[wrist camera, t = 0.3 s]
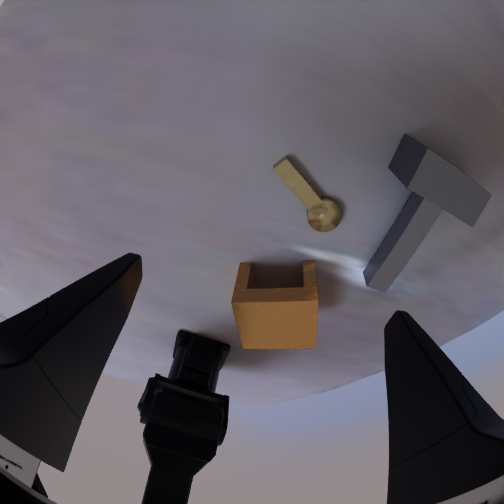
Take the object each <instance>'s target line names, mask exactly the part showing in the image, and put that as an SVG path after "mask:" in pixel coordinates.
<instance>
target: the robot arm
mask: <svg viewBox="0 0 504 504" xmlns="http://www.w3.org/2000/svg"><path fill="white" fill-rule="evenodd" d="M141 280H142V258H141V256H140V255H138V254H134V253H128V254H126V255H124V256H122V257H120V258H118V259H116V260H114V261H112V262H110V263H108V264H107V265H105V266H103V267H101V268H99V269H97V270H95V271H94V272H92V273H90V274H88V275H86V276H84V277H83V278H81V279H79V280H77V281H75V282H74V283H72V284H70V285H68V286H67V287H65V288H63V289H61V290H60V291H58V292H56V293H54V294H53V295H51V296H50V297H47V298H46V299H44V300H42V301H41V302H39V303H37V304H35V305H33V306H32V307H30V308H28V309H26V310H24V311H22V312H20V313H19V314H17V315H15V316H13V317H11V318H9V319H7V320H5V321H3V322H1V323H0V504H57V503H55V502H53V501H51V500H50V499H48V496H47V494H46V491H45V489H44V487H43V485H42V483H41V481H40V478H39V476H38V474H37V470H38V467H39V465H40V462H41V461H43V462H45V463H46V464H48V465H51V466H52V467H54V468H56V469H58V470H60V471H62V472H64V470H65V467H66V465H67V462H68V459H69V455H70V453H71V450H72V447H73V444H74V441H75V438H76V436H77V433H78V430H79V427H80V425H81V421H82V419H83V417H84V414H85V411H86V409H87V406H88V404H89V402H90V399H91V397H92V394H93V392H94V389H95V387H96V384H97V382H98V380H99V378H100V376H101V373H102V371H103V369H104V366H105V364H106V362H107V360H108V358H109V355H110V353H111V351H112V349H113V347H114V345H115V343H116V340H117V338H118V336H119V334H120V332H121V330H122V328H123V326H124V324H125V322H126V320H127V317H128V315H129V312H130V310H131V307H132V304H133V301H134V299H135V296H136V293H137V291H138V288H139V285H140V283H141ZM384 342H385V374H386V386H387V400H388V420H389V475H388V495H387V504H504V420H503V419H502V418H501V417H500V416H499V415H498V414H497V413H496V412H495V411H494V410H493V409H492V408H491V407H490V405H489V404H488V403H487V402H486V401H485V400H484V399H483V398H482V397H481V395H480V394H479V393H478V392H477V391H476V390H475V389H474V387H473V386H472V385H471V384H470V383H469V382H468V380H467V379H466V378H465V377H464V376H463V375H462V373H461V372H460V371H459V370H458V368H457V367H456V366H455V365H454V364H453V363H452V361H451V360H450V359H449V358H448V357H447V356H446V355H445V353H444V352H443V351H442V350H441V349H440V348H439V346H438V345H437V344H436V343H435V342H434V341H433V340H432V339H431V338H430V336H429V335H428V334H427V333H426V332H425V331H424V330H423V329H422V328H421V327H420V325H419V324H418V323H417V322H416V321H415V320H414V319H413V318H412V317H411V316H410V315H409V314H408V313H407V312H405V311H400V310H398V311H396V312H395V313H394V314H393V315H392V317H391V318H390V320H389V321H388V323H387V324H386V326H385V329H384ZM229 351H230V346H229V345H227V344H224V343H220V342H217V341H213V340H210V339H207V338H204V337H200V336H197V335H194V334H191V333H188V332H185V331H181V330H180V331H178V333H177V337H176V342H175V347H174V353H173V358H174V360H173V363H172V366H171V369H170V372H169V375H168V378H166V377H163V376H160V374H157V373H156V375H155V377H152V378H149V380H148V383H147V386H146V388H145V391H144V393H143V395H142V397H141V399H140V401H139V404H138V410H139V411H140V416H141V419H140V423H143V424H146V425H145V428H144V432H143V443H144V446H145V449H146V452H147V456H148V459H149V461H150V465H151V468H150V472H149V476H148V480H147V484H146V488H145V492H144V496H143V500H142V504H187V503H188V498H189V494H190V489H191V484H192V480H193V476H194V475H195V474H196V473H197V472H199V471H200V470H201V469H202V468H203V467H204V466H205V465H206V464H207V463H208V462H210V461H211V460H212V459H213V457H214V456H215V455H216V450H217V446H220V445H221V444H222V442H223V440H224V437H225V434H226V430H227V424H228V409H229V396H227V395H220V394H217V393H215V390H216V385H217V380H218V375H219V371H220V369H221V367H222V365H223V363H224V361H225V359H226V357H227V355H228V353H229Z"/></svg>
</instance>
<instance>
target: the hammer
mask: <svg viewBox="0 0 504 504" xmlns="http://www.w3.org/2000/svg"><path fill="white" fill-rule="evenodd" d="M388 168H389V169H390V170H391V171H392V172H393V174H394V175H395V176H396V177H397V178H398V179H399V180H400V181H401V182H402V183H403V184H404V186H405V187H406V188H407V189H409V190H411V191H413V192H412V194H411V196H410V198H409V200H408V201H407V203H406V205H405V206H404V208H403V210H402V212H401V213H400V215H399V217H398V218H397V220H396V222H395V223H394V225H393V227H392V228H391V230H390V231H389V233H388V235H387V236H386V238H385V239H384V241H383V243H382V244H381V246H380V247H379V249H378V250H377V252H376V253H375V255H374V256H373V258H372V260H371V261H370V263H369V264H368V266H367V267H366V268H365V270H364V271H363V275H364V278H365V282H366V285H367V286H368V287H371V288H374V289H377V290H380V291H383V292H386V291H387V289H388V288H389V287H390V285H391V284H392V283H393V281H394V280H395V279H396V277H397V276H398V275H399V273H400V272H401V271H402V269H403V268H404V266H405V265H406V264H407V262H408V261H409V259H410V258H411V257H412V255H413V254H414V252H415V251H416V249H417V248H418V246H419V245H420V243H421V242H422V240H423V239H424V237H425V236H426V234H427V233H428V231H429V230H430V228H431V227H432V225H433V223H434V222H435V220H436V219H437V217H438V215H439V214H440V212H441V210H442V209H444V210H446V211H447V212H449V213H451V214H452V215H454V216H456V217H457V218H459V219H460V220H462V221H463V222H465V223H466V224H468V225H470V226H471V227H473V226H474V224H475V222H476V221H477V219H478V218H479V216H480V214H481V213H482V211H483V209H484V207H485V206H486V204H487V202H488V201H489V199H490V197H491V194H490V193H489V192H488V191H486V190H485V189H484V188H483V187H482V186H480V185H479V184H478V183H477V182H475V181H474V180H473V179H472V178H470V177H469V176H468V175H466V174H465V173H464V172H462V171H461V170H460V169H458V168H457V167H455V166H454V165H453V164H451V163H450V162H448V161H447V160H445V159H444V158H443V157H441V156H440V155H438V154H437V153H435V152H434V151H432V150H430V149H429V148H427V147H426V146H424V145H423V144H421V143H419V142H418V141H416V140H414V139H413V138H411V137H409V136H408V135H406V134H404V136H403V138H402V140H401V142H400V144H399V146H398V148H397V150H396V152H395V154H394V156H393V158H392V160H391V162H390V164H389V166H388Z"/></svg>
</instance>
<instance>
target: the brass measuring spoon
mask: <svg viewBox="0 0 504 504" xmlns="http://www.w3.org/2000/svg"><path fill="white" fill-rule="evenodd" d="M273 170H274V171H275V172H276V173H277V174H278V175H279V176H280V177H281V178H282V180H283V181H284V182H285V183H286V184H287V185H288V186H289V188H290V189H291V190H292V191H293V192H294V193H295V194H296V196H297V197H298V198H299V199H300V200H301V201H302V203H303V204H304V205H305V206H306V207H307V218H308V222H309V224H310V226H311V227H312V228H313V229H315V230H317V231H320V232H328V231H331V230H333V229H335V228H336V227H337V226H338V225H339V223H340V221H341V211H340V208H339V205H338V204H337V202H336V201H335V200H334V199H332V198H330V197H326V196H322V197H321V196H320V195H319V194H318V192H317V191H316V190H315V189H314V187H313V186H312V185H311V184H310V183H309V181H308V180H307V179H306V178H305V177H304V175H303V174H302V173H301V172H300V171H299V169H298V168H297V167H296V166H295V165H294V164H293V162H292V161H291V160H290V159H289V158H288V157H287V155H286V156H285V157H284V158H282V159H281V160H280V161H278V162H277V163H276V164H275V165H274V166H273Z"/></svg>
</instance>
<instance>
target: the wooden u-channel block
mask: <svg viewBox="0 0 504 504" xmlns="http://www.w3.org/2000/svg"><path fill="white" fill-rule="evenodd" d="M231 304H232V308H233V312H234V316H235V320H236V324H237V328H238V332H239V336H240V340H241V344H242V347H243V349H302V348H316V336H317V319H318V291H317V281H316V272H315V263H314V260H303V287H297V288H267V289H255V283H254V276H253V270H252V264H251V262H243V263H240V265H239V270H238V274H237V279H236V283H235V287H234V292H233V296H232V301H231Z"/></svg>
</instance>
